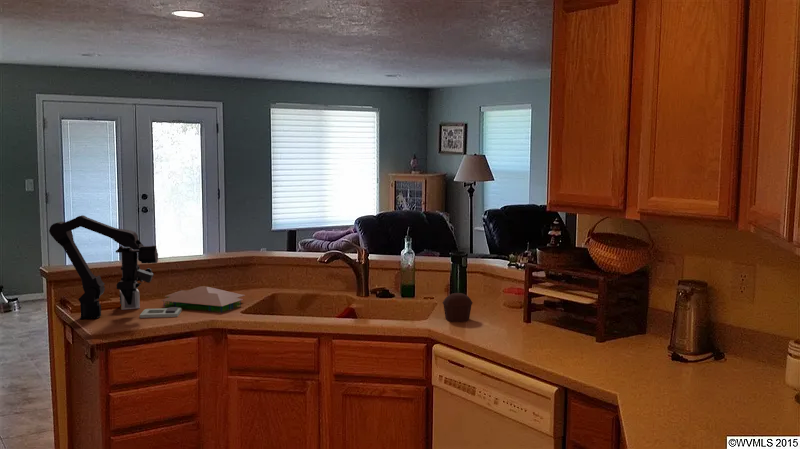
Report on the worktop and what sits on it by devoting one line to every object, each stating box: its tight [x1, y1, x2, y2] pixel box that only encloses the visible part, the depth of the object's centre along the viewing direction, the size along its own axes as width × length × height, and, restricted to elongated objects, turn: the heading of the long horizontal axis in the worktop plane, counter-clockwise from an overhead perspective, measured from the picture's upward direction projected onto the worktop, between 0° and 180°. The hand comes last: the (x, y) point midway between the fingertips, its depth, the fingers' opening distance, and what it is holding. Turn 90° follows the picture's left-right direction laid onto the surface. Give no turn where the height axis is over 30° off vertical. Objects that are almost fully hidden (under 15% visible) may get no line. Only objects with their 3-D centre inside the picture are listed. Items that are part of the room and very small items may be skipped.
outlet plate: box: [139, 306, 183, 319], centre depth 287 cm, size 14×11×2 cm
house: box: [160, 285, 246, 314], centre depth 305 cm, size 23×33×8 cm
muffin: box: [442, 292, 473, 323], centre depth 278 cm, size 12×11×10 cm
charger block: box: [124, 290, 138, 308], centre depth 283 cm, size 4×4×6 cm
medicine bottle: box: [119, 281, 141, 311], centre depth 299 cm, size 7×7×12 cm
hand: (131, 303), depth 283 cm, fingers closed on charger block, 4 cm apart
